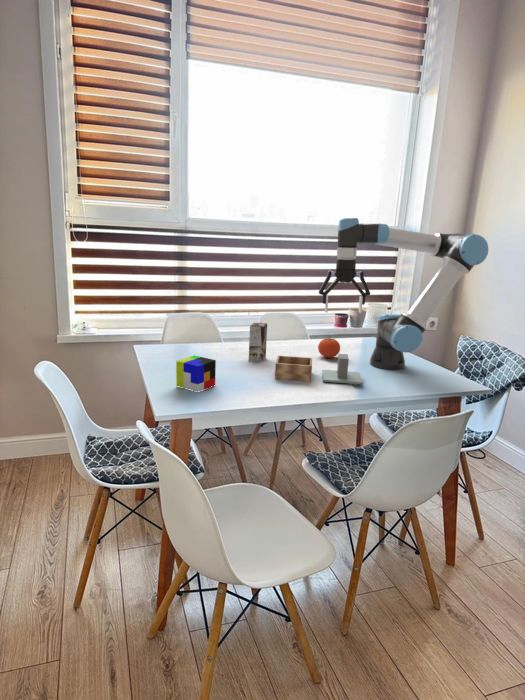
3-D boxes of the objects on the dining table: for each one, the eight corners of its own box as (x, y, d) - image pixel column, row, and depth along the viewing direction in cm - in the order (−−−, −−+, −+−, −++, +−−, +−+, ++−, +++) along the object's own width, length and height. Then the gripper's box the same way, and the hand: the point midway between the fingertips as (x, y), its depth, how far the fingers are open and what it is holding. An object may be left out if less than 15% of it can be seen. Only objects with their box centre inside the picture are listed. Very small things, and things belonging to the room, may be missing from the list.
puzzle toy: (197, 393, 165) (198, 366, 163) (176, 387, 170) (176, 361, 168) (215, 386, 174) (215, 360, 171) (194, 380, 179) (194, 355, 176)
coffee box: (262, 363, 205) (263, 327, 201) (248, 361, 206) (249, 325, 202) (266, 357, 214) (267, 323, 210) (252, 356, 215) (253, 322, 211)
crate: (310, 374, 192) (312, 357, 191) (310, 383, 181) (312, 366, 179) (277, 371, 194) (277, 355, 192) (274, 380, 182) (275, 363, 180)
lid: (358, 377, 191) (361, 353, 188) (362, 388, 179) (364, 362, 176) (322, 375, 192) (323, 350, 190) (322, 385, 180) (324, 359, 177)
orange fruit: (339, 355, 223) (341, 335, 220) (339, 361, 213) (341, 340, 210) (318, 353, 224) (319, 333, 222) (316, 359, 215) (318, 338, 212)
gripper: (376, 258, 187) (372, 311, 192) (313, 257, 187) (311, 309, 193) (380, 259, 179) (376, 314, 185) (315, 258, 180) (312, 313, 186)
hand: (343, 312), depth 189 cm, fingers open, 13 cm apart
